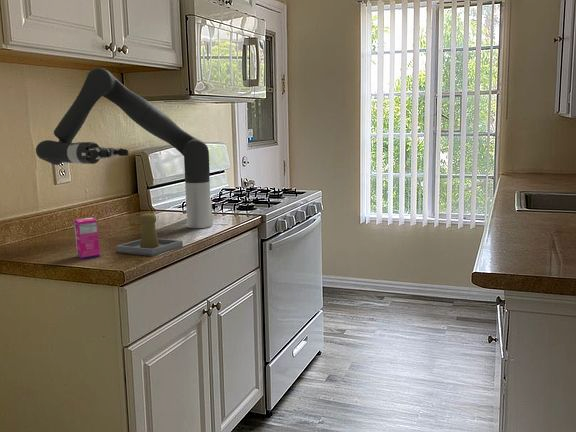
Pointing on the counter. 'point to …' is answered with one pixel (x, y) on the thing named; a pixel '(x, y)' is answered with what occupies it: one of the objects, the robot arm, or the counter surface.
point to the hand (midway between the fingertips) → (118, 153)
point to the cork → (148, 231)
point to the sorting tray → (135, 248)
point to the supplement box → (87, 238)
